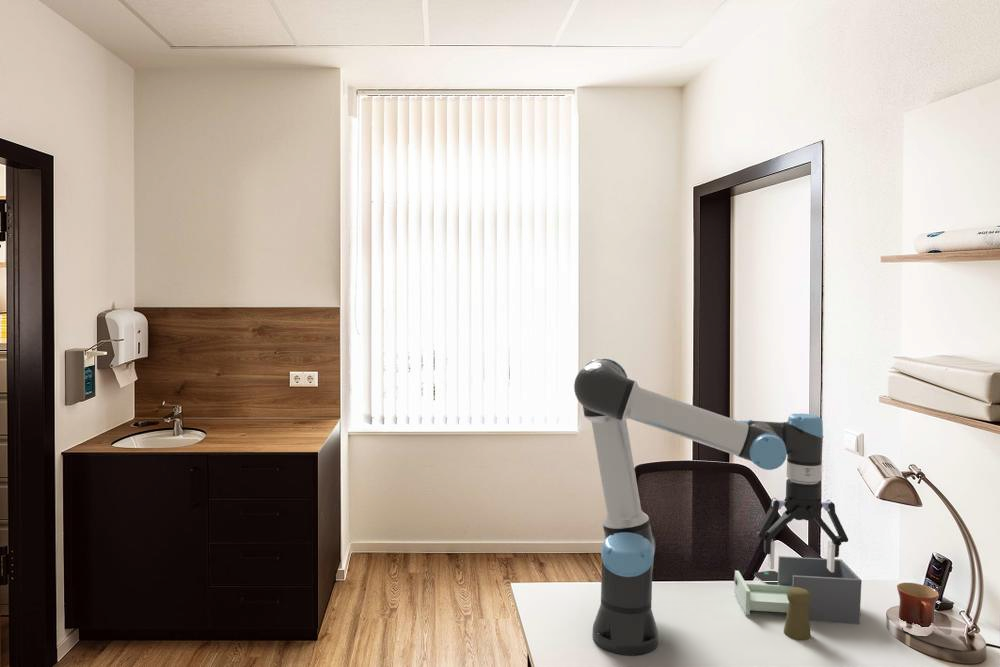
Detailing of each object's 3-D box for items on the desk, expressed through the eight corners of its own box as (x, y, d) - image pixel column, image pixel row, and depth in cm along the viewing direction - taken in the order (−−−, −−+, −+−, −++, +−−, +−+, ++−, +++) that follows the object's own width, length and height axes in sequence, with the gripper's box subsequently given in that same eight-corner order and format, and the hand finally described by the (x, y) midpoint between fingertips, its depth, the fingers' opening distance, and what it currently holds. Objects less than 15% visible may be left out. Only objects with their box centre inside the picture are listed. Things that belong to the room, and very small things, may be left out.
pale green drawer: (743, 614, 179) (744, 591, 178) (732, 592, 192) (733, 570, 191) (806, 618, 177) (807, 594, 176) (790, 595, 190) (791, 573, 190)
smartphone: (774, 570, 207) (809, 591, 193) (774, 572, 207) (809, 594, 193) (751, 572, 205) (785, 594, 191) (751, 575, 205) (785, 597, 191)
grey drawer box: (792, 619, 177) (793, 576, 176) (777, 596, 191) (778, 556, 190) (859, 623, 175) (861, 580, 175) (839, 599, 189) (841, 559, 188)
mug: (889, 621, 177) (891, 580, 176) (928, 624, 175) (930, 584, 175) (907, 644, 165) (909, 601, 165) (948, 648, 164) (951, 605, 163)
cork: (814, 641, 166) (816, 595, 165) (786, 639, 167) (788, 593, 166) (807, 629, 172) (808, 585, 171) (780, 627, 173) (782, 583, 172)
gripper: (752, 482, 165) (749, 571, 166) (865, 486, 162) (861, 577, 163) (745, 474, 172) (742, 559, 174) (853, 478, 170) (849, 565, 171)
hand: (800, 568), depth 169 cm, fingers open, 13 cm apart
